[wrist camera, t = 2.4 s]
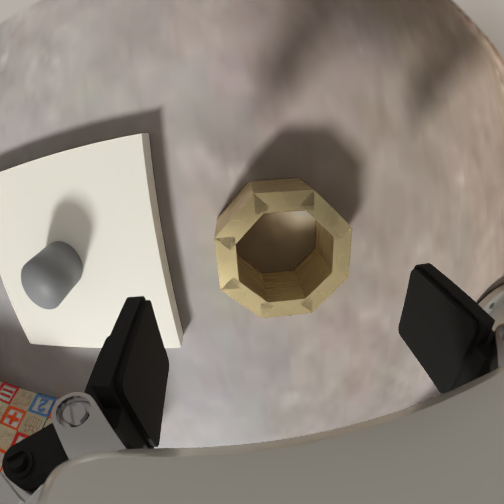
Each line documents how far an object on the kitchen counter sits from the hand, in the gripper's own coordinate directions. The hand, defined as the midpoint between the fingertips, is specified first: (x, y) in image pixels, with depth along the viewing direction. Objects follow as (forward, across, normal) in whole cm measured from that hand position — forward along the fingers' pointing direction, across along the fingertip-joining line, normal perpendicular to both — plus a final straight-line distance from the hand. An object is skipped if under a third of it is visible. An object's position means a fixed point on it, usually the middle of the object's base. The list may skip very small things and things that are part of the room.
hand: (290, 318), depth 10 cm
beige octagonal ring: (+9, -1, +1) cm, 9 cm away
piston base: (+10, +13, +1) cm, 16 cm away
